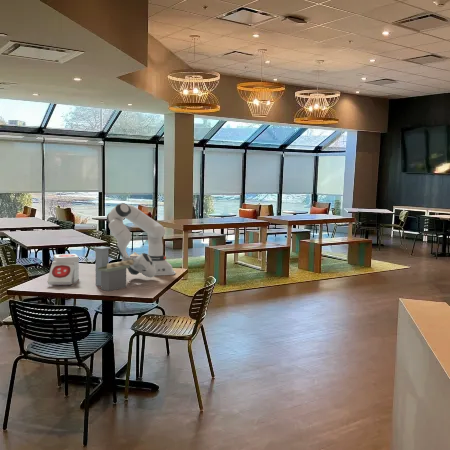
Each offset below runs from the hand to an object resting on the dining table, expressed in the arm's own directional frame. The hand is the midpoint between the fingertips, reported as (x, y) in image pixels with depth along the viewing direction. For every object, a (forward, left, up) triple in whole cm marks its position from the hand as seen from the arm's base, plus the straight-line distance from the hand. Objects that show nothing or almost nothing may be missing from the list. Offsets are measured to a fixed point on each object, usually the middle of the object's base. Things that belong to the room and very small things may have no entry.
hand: (127, 257), depth 343 cm
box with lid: (+9, +10, -19) cm, 23 cm away
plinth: (+17, -1, -19) cm, 26 cm away
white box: (+44, -10, -19) cm, 49 cm away
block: (+5, +5, -5) cm, 9 cm away
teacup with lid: (-1, -74, -19) cm, 76 cm away
